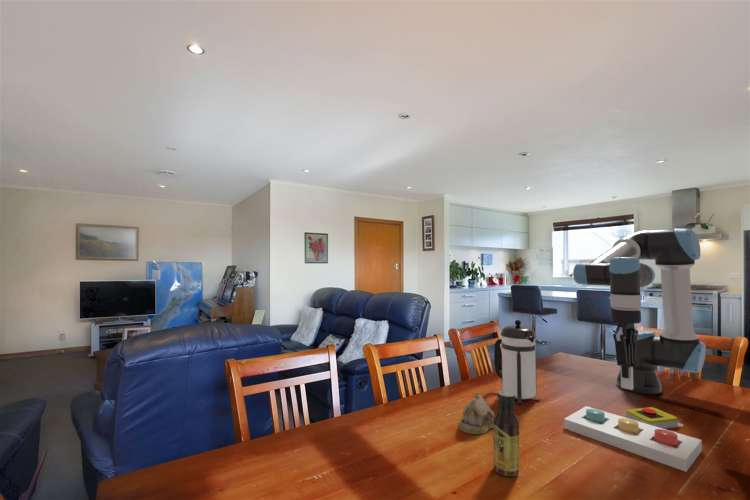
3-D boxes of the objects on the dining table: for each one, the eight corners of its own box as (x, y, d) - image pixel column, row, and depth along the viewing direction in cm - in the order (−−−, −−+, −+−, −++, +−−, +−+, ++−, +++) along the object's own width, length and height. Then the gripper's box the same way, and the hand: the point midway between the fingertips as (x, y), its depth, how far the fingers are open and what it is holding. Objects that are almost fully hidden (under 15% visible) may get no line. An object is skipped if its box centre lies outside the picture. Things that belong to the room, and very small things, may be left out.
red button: (657, 439, 105) (657, 427, 105) (680, 446, 101) (679, 433, 101) (652, 445, 102) (651, 432, 102) (674, 452, 98) (674, 439, 98)
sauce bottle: (489, 464, 95) (488, 388, 96) (512, 463, 96) (511, 387, 96) (500, 480, 89) (498, 397, 89) (524, 478, 89) (523, 396, 90)
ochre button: (622, 428, 112) (621, 416, 112) (641, 434, 108) (641, 422, 108) (615, 433, 109) (615, 421, 109) (635, 439, 105) (635, 427, 105)
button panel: (586, 414, 125) (586, 406, 125) (701, 450, 101) (701, 440, 101) (564, 428, 115) (564, 418, 115) (686, 471, 91) (685, 459, 92)
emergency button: (620, 406, 122) (657, 402, 125) (620, 419, 122) (657, 415, 125) (645, 418, 113) (685, 413, 116) (646, 432, 113) (685, 427, 116)
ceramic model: (467, 413, 127) (467, 384, 127) (500, 421, 121) (500, 391, 121) (452, 430, 115) (452, 398, 115) (488, 439, 109) (487, 405, 109)
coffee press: (540, 393, 145) (539, 317, 146) (540, 408, 131) (538, 324, 131) (495, 387, 152) (493, 315, 153) (490, 400, 138) (488, 321, 139)
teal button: (590, 418, 119) (590, 407, 119) (607, 423, 115) (607, 412, 115) (583, 422, 116) (583, 411, 116) (600, 428, 112) (600, 416, 112)
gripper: (619, 305, 116) (621, 380, 115) (602, 309, 108) (604, 389, 107) (647, 308, 110) (649, 386, 109) (632, 312, 102) (634, 396, 102)
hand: (627, 388), depth 108 cm, fingers closed
